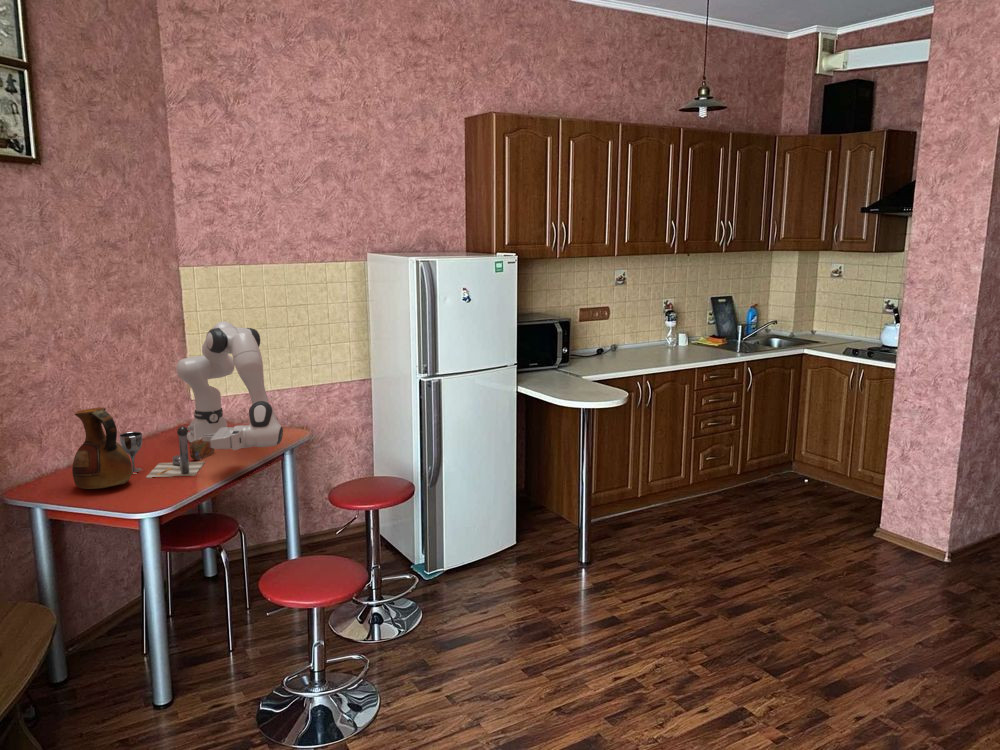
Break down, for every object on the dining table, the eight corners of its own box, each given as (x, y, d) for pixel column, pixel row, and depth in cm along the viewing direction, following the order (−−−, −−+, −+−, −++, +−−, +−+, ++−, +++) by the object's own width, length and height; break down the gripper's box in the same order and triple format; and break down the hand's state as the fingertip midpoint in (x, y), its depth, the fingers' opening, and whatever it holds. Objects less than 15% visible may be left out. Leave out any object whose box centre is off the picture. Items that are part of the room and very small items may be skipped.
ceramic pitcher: (106, 475, 299) (99, 400, 293) (145, 482, 291) (139, 405, 286) (61, 490, 281) (53, 411, 275) (102, 498, 273) (95, 416, 268)
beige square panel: (159, 464, 313) (158, 462, 313) (205, 462, 316) (205, 461, 316) (146, 478, 296) (145, 476, 296) (195, 476, 298) (194, 474, 298)
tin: (195, 462, 317) (194, 442, 315) (188, 462, 317) (187, 442, 316) (215, 452, 331) (214, 433, 330) (209, 452, 332) (208, 433, 330)
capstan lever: (172, 461, 314) (168, 417, 310) (187, 459, 316) (184, 416, 313) (177, 474, 297) (174, 428, 294) (194, 472, 300) (191, 426, 297)
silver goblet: (148, 470, 306) (146, 433, 303) (129, 475, 299) (126, 438, 296) (137, 466, 310) (134, 430, 307) (118, 471, 304) (115, 434, 301)
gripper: (243, 422, 310) (208, 424, 308) (234, 435, 290) (196, 436, 288) (244, 437, 311) (209, 439, 309) (235, 451, 291) (197, 452, 289)
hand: (202, 438), depth 298 cm, fingers closed
